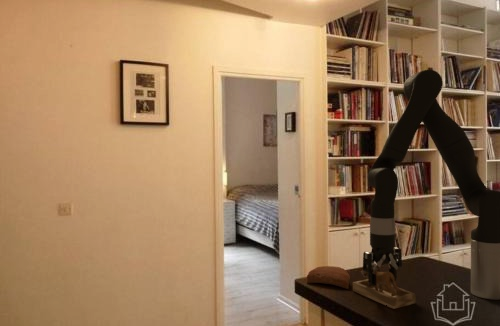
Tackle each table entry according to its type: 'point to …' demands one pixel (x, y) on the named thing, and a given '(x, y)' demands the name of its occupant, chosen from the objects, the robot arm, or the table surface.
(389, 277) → the lion figurine
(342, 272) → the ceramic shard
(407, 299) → the rectangular tray
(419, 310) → the table surface
